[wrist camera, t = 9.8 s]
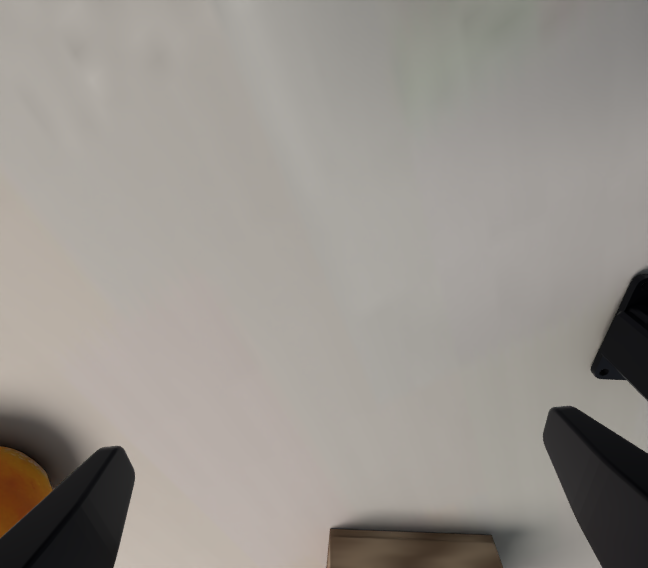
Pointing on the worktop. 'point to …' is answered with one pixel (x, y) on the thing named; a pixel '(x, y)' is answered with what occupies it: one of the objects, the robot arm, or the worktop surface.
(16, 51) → the worktop surface
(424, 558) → the tray
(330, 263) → the worktop surface
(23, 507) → the fruit
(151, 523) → the worktop surface
